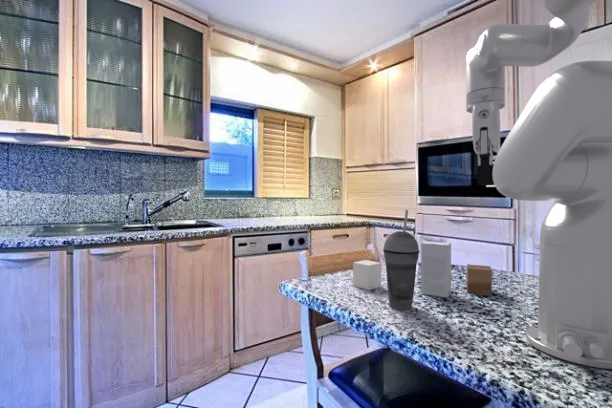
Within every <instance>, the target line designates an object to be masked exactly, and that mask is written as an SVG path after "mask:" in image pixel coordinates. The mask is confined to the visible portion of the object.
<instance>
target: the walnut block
mask: <svg viewBox="0 0 612 408" xmlns="http://www.w3.org/2000/svg"><path fill="white" fill-rule="evenodd" d="M492 284H493V269H492V268H491V265H482V264H481V265H480V264H466V293H467V294H472V295H480V296H490V297H492V293H493V292H492V290H493V289H492V288H493V287H492V286H493V285H492Z"/></svg>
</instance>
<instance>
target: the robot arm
mask: <svg viewBox="0 0 612 408" xmlns="http://www.w3.org/2000/svg"><path fill="white" fill-rule="evenodd" d="M599 1H600V0H541V3H542V4H543V7H545V9H546V10H547V11H548V12H549V13H550V14H551V15H552V16H554V17H553V18H551V19H550V20H549V21H547V22H546V23H544V24H543V25H542V24H511V23H510V24H507V23H506V24H503V23H501V24H499V23H496V24H493V25H490V26H488V27H487V28H486V29H485V30H484V31H483V32H482V33H481V34H480V36H479V37H478V39H477V42H476V43H475V46H473V47H472V48H470V49H469V51H467V54H466V58H465V59H466V60H465V61H466V62H465V65H466V67H465V69H466V71H465V73H466V74H465V75H466V79H465V81H466V83H465V84H466V87H465V88H466V93H465V94H466V95H465V96H466V99H465V100H466V103H465V104H466V108H465V109H466V112H467V113H470V114H471V118H472V119H471V123H472V124H471V125H472V126H471V128H472V129H471V130H472V131H471V132H472V145H473V150H474V152H475V154H476V155H477V166H476V184H477V185H478V186H488V185H489V186H490V185H491V186H492V185H494V187H495V188H496V190H497V191H498V192H499V194H501V195H502V196H504V197H506V198H509V199H513V200H516V201H529V202H530V201H531V202H533V201H534V202H540V201H541V202H548V201H549V202H552V201H553V204H552V205H551V207H550V208H549V210H548V211H547V212H546V215H545V216H544V218H543V220H542V223H541V227H540V232H539V233H540V234H539V259H538V261H539V265H538V266H539V267H538V268H539V269H538V272H539V273H538V305H537V306H538V310H537V311H538V312H537V317H538V318H537V324H536V325H532V326H530V327H527V329H526V330H525V331H526V332H525V339H526V340H527V341H528V342H529V344H530V345H532V346H533V347H535V348H536V349H538V350H539V351H541V352H543V353H546V354H547V355H550V356H552V357H555V358H557V359H561V360H564V361H567V362H570V363H574V364H576V365H577V364H578V365H582V366H587V367H593V368H599V369H608V370H612V60H585V61H576V62H573V63H570V64H567V65H565V66H562V67H560V68H558V69H557V70H556V71H554V72H552V73H551V74H549V75H548V77H546V78H545V79H544V80H543V81H542V82H541V84H539V86H538V87H537V88H536V89H535V91H534V92H533V94H532V96H530V98H529V100H528V102H527V103H526V105H525V107H524V108H523V110H522V112H521V113H520V114H519V116H518V118H517V120H516V122H514V125H513V127H512V128H511V130H510V131H509V133H508V135H507V136H506V138H505V139H504V141H503V143H502V145H501V114H500V113H501V112H500V111H501V109H504V108H505V106H506V97H505V96H506V72H505V71H506V69H505V68H506V67H520V68H521V67H524V68H525V67H526V68H530V67H531V68H532V67H538V66H541V65H543V64H545V63H547V62H549V61H552V59H554V58H556V57H557V56H559V54H561V53H563V52H565V51H566V50H567V49H568V48H569V47H571V46H572V45H573V44H574V43H575V42H576V41H577V39H578V38H579V37H580V35H581V33H582V32H583V31H584V29H585V26H586V25H587V22H588V20H589V17H590V12H591V8H592V6H594V5H595V4H596V3H598V2H599ZM494 153H496V157H495V158H494V157H493V156H494ZM494 159H495V160H494Z"/></svg>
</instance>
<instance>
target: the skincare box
mask: <svg viewBox="0 0 612 408" xmlns="http://www.w3.org/2000/svg"><path fill="white" fill-rule="evenodd" d="M420 249H421V250H420V251H421V253H420V258H421V260H420V267H421V269H420V270H421V273H420V287H421V288H420V294H421V295H427V296H434V297H440V298H446V299H447V298H449V297H450V295H451V294H452V243H451V242H437V241H424V242H421V243H420Z"/></svg>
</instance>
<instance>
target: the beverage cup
mask: <svg viewBox="0 0 612 408" xmlns="http://www.w3.org/2000/svg"><path fill="white" fill-rule="evenodd" d="M404 212H405V213H404V221H403V228H402V229H403V230H402V231H394V232H392V233H391V234H389V235H388V237H387V238H386V240H385V242H384V245H383V258H384V262H385V271H386V283H387V285H386V286H387V299H388V304H389V306H388V307H389V308H392V309H393V310H398V311H409V310H412V308H413V301H414V293H415V282H416V273H417V264H418V261H419V254H421V253H420V249H419V248H420V247H419V243H418V241H417V239H416V238H415V237H414V235H412V234H411V233H410V232H408V231H406V230H407V224H408V223H407V222H408V216H409V210H408V209H405V211H404Z"/></svg>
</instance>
